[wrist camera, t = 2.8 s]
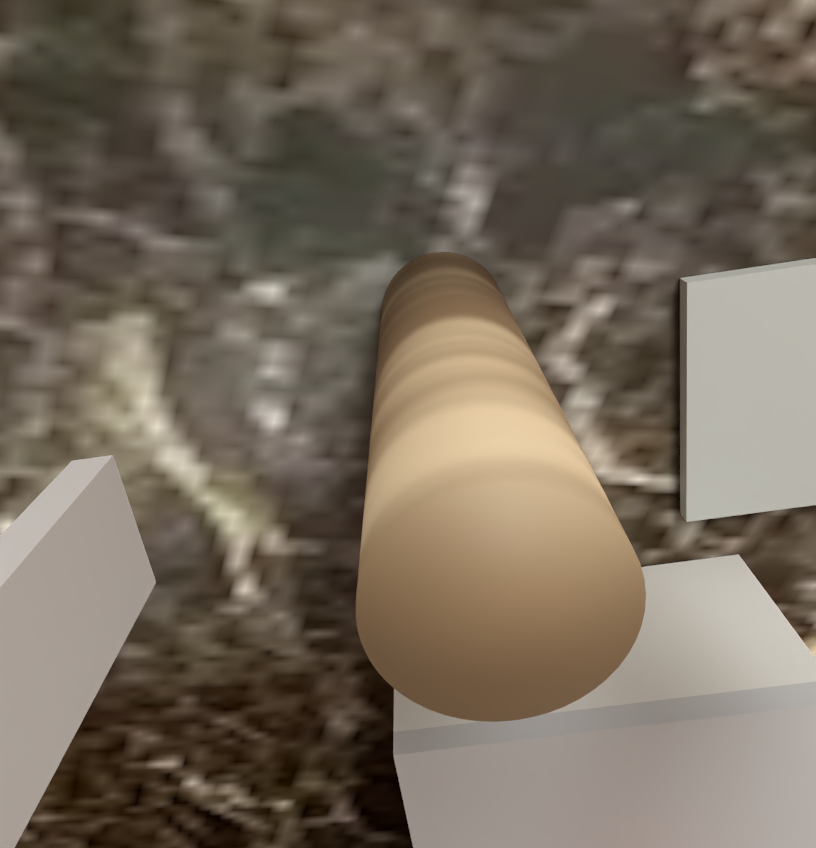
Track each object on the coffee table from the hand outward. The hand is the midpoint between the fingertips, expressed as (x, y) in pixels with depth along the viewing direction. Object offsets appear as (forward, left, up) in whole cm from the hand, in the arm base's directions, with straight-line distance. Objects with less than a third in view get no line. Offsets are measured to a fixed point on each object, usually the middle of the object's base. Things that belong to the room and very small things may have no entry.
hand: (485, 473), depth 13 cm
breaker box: (+18, +3, -10) cm, 20 cm away
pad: (+4, +11, -10) cm, 15 cm away
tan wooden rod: (0, 0, -10) cm, 10 cm away
